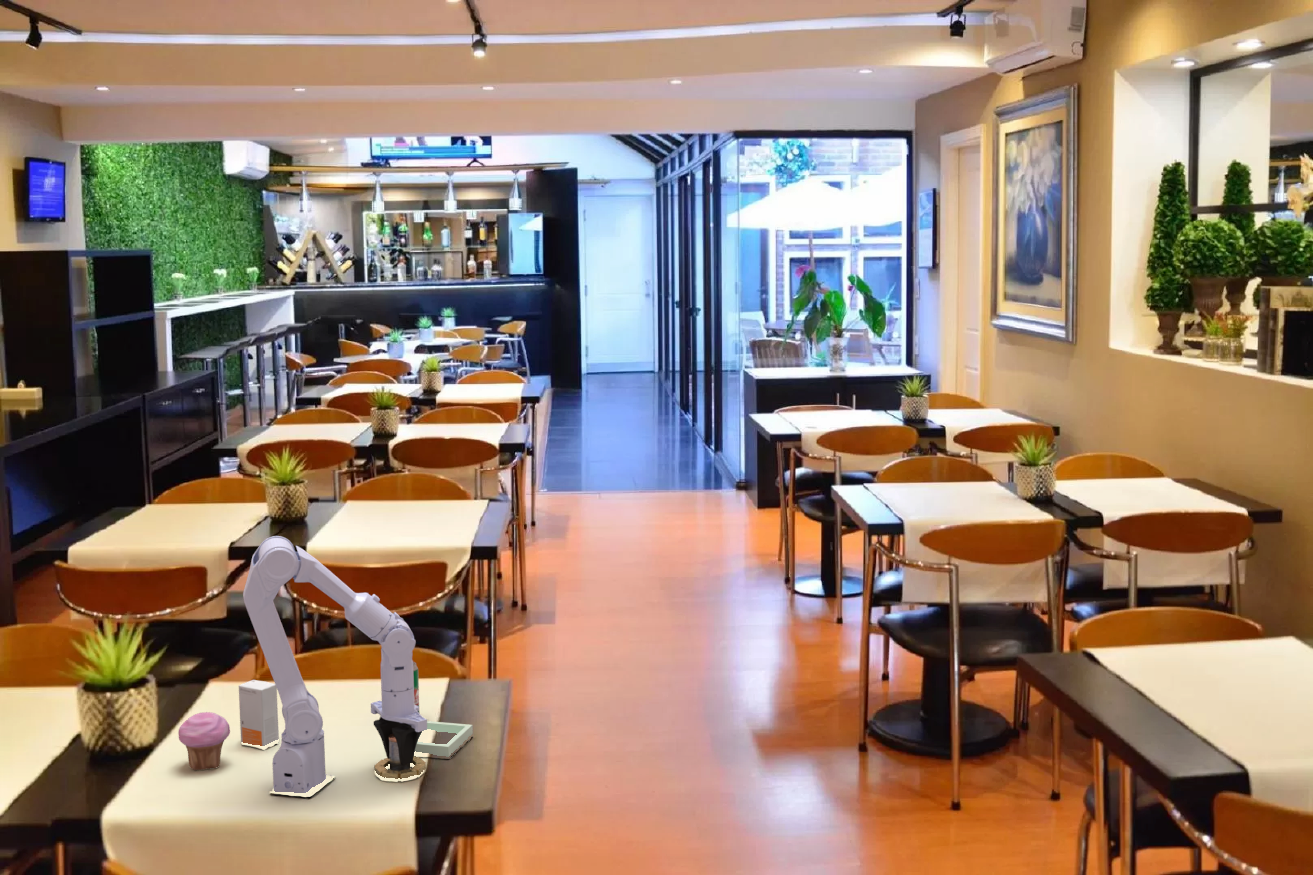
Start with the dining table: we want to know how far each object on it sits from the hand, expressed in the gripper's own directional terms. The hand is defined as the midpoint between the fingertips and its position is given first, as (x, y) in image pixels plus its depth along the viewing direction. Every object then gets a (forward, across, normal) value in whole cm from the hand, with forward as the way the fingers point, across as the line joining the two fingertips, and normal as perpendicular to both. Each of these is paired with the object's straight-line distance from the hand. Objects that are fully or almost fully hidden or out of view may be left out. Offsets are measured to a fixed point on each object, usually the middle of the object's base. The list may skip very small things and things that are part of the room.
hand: (399, 760), depth 239 cm
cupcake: (+3, +28, +23) cm, 36 cm away
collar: (+2, 0, 0) cm, 2 cm away
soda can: (+3, +21, -16) cm, 27 cm away
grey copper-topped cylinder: (+2, 0, 0) cm, 2 cm away
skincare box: (+3, +31, +10) cm, 33 cm away
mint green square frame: (+2, +7, -12) cm, 14 cm away
